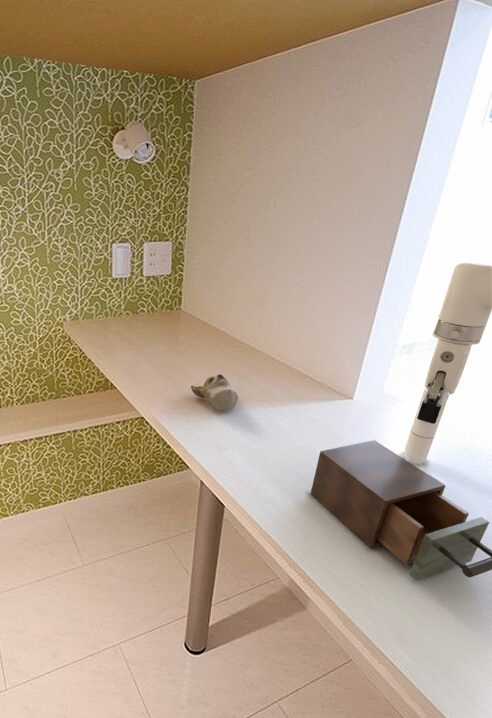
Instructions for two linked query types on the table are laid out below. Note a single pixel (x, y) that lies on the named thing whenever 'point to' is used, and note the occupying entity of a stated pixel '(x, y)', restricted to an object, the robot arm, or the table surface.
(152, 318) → the table surface
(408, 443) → the tube
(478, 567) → the drawer
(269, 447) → the table surface
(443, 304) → the robot arm
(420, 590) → the table surface
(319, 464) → the cabinet
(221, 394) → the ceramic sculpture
